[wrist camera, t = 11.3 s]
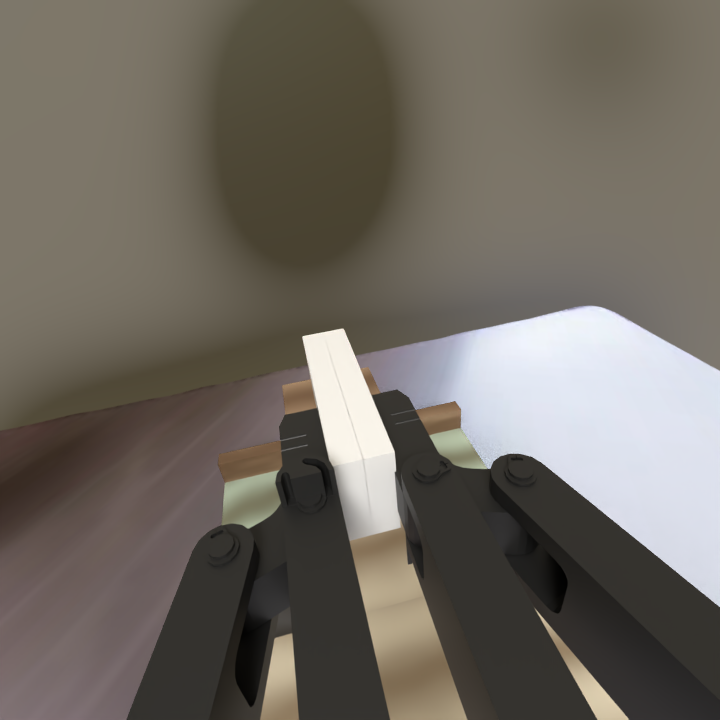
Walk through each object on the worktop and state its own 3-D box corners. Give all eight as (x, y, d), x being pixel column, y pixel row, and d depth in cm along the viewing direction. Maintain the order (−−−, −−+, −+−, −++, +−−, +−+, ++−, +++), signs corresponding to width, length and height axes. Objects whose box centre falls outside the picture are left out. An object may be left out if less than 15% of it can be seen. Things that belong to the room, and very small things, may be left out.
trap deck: (640, 742, 25) (665, 702, 22) (211, 893, 22) (175, 870, 19) (454, 439, 48) (455, 401, 45) (233, 491, 45) (219, 454, 42)
